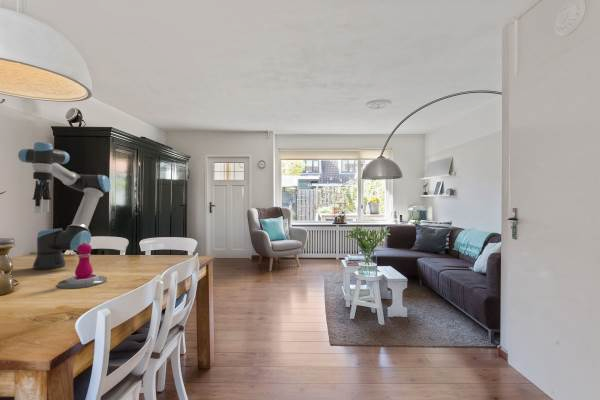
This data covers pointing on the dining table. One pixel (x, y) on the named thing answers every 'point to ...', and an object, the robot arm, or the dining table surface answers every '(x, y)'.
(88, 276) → the pepper mill
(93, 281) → the ring seat
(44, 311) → the dining table surface
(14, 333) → the dining table surface
